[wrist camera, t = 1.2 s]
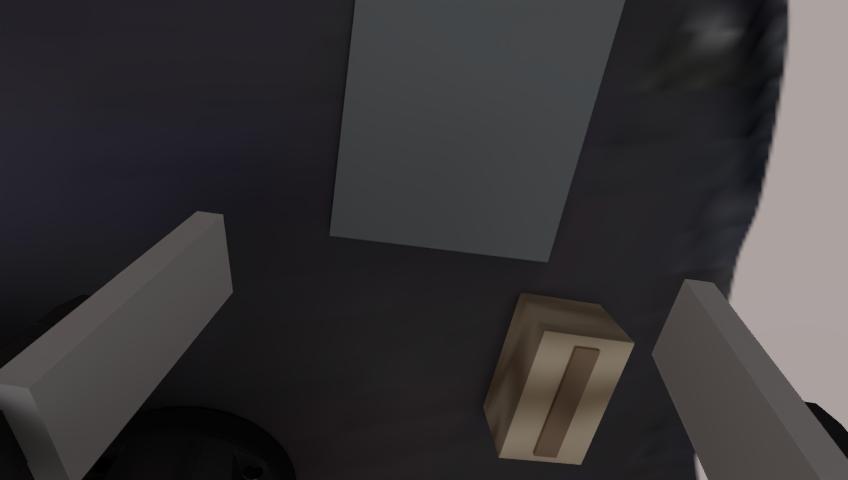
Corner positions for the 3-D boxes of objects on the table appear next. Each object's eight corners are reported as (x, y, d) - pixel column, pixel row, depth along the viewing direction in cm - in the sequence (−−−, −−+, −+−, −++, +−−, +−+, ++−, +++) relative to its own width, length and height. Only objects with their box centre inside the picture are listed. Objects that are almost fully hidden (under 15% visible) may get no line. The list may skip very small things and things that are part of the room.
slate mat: (542, 255, 31) (547, 262, 30) (330, 229, 29) (329, 235, 28) (619, -9, 26) (628, -11, 25) (363, -68, 23) (363, -72, 22)
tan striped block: (554, 412, 37) (582, 468, 32) (482, 405, 36) (500, 461, 31) (598, 303, 33) (637, 346, 29) (519, 290, 32) (546, 333, 28)
